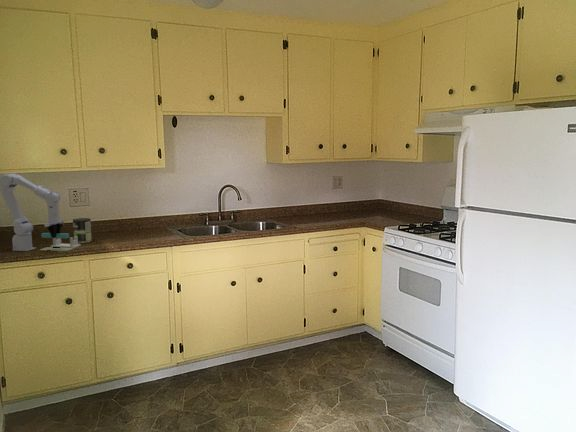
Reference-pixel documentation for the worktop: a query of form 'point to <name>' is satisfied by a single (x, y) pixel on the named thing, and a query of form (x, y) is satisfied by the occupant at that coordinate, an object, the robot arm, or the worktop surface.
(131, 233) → the worktop surface
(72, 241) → the stand
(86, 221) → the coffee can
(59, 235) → the rail
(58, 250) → the mat
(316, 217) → the worktop surface
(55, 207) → the robot arm
